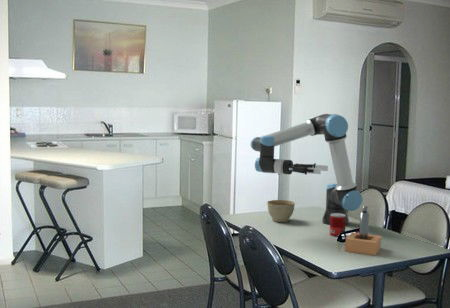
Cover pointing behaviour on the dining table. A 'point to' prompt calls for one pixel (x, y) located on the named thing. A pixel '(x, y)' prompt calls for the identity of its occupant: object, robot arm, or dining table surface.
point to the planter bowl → (280, 210)
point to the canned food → (337, 223)
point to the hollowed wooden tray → (363, 244)
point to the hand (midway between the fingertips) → (324, 169)
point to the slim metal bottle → (364, 224)
